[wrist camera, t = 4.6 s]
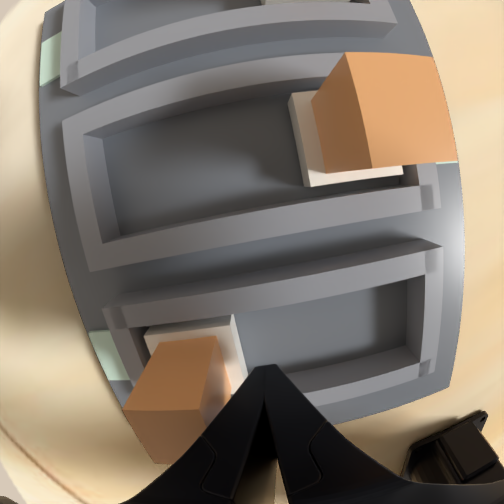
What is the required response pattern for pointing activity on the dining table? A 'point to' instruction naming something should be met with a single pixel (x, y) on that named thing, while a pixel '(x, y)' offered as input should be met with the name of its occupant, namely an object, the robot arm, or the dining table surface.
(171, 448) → the orange and white block
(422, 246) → the switch board
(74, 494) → the dining table surface
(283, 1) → the tab
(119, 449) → the dining table surface
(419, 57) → the tab
